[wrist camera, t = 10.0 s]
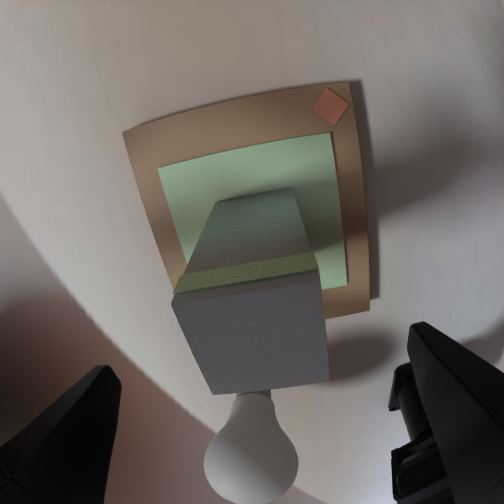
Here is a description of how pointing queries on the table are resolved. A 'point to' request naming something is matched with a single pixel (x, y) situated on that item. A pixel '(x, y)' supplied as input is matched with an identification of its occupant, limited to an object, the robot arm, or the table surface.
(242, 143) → the stand plate
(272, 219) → the column
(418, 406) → the robot arm
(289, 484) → the lightbulb
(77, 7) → the table surface
